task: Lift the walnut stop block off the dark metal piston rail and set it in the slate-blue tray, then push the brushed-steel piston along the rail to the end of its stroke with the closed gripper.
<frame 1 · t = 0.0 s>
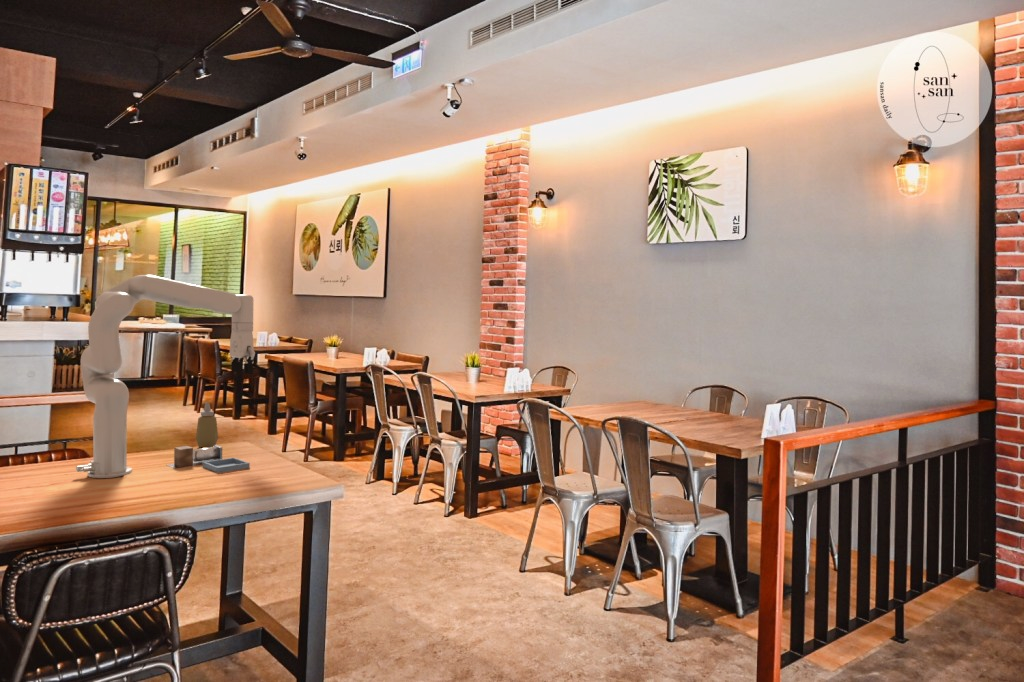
hand: (242, 372, 260), 31 cm above the table, tool pointing down, fingers open, 9 cm apart
stop block: (183, 464, 241), resting on piston rail
piston rail: (197, 464, 245), on the table
tray: (226, 468, 239), on the table
piston: (206, 453, 247), point 3 cm above the table, slide at 0.0 cm
squeeze bottle: (207, 447, 274), on the table
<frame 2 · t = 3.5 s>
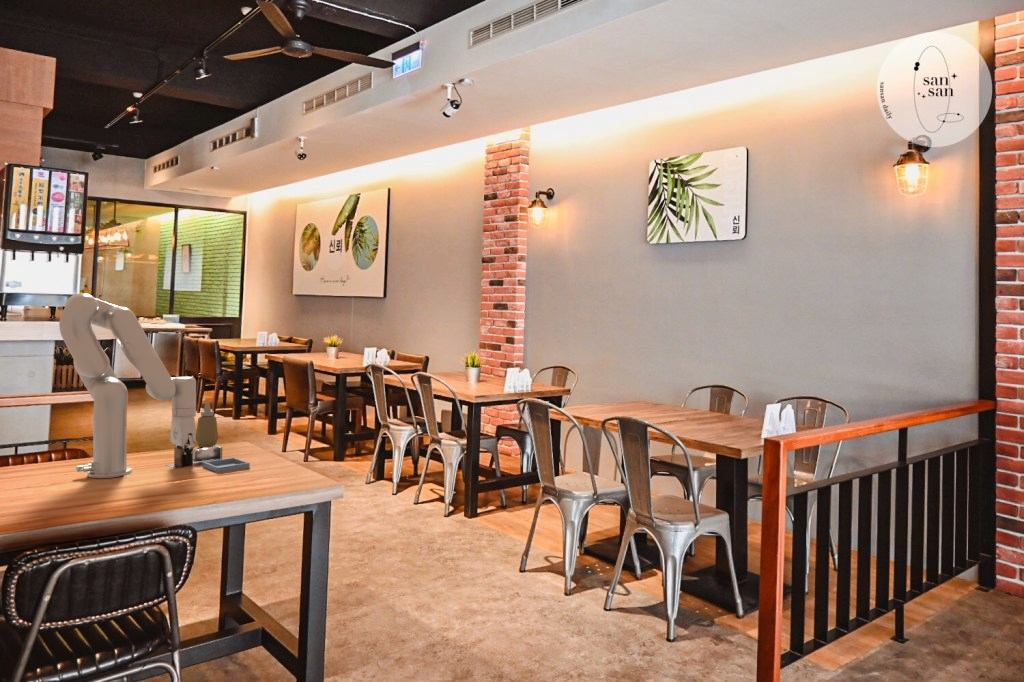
hand: (183, 463, 241), 1 cm above the table, tool pointing down, fingers closed on stop block, 4 cm apart
stop block: (183, 464, 241), point 1 cm above the table, touching gripper, piston rail
everything else where it was.
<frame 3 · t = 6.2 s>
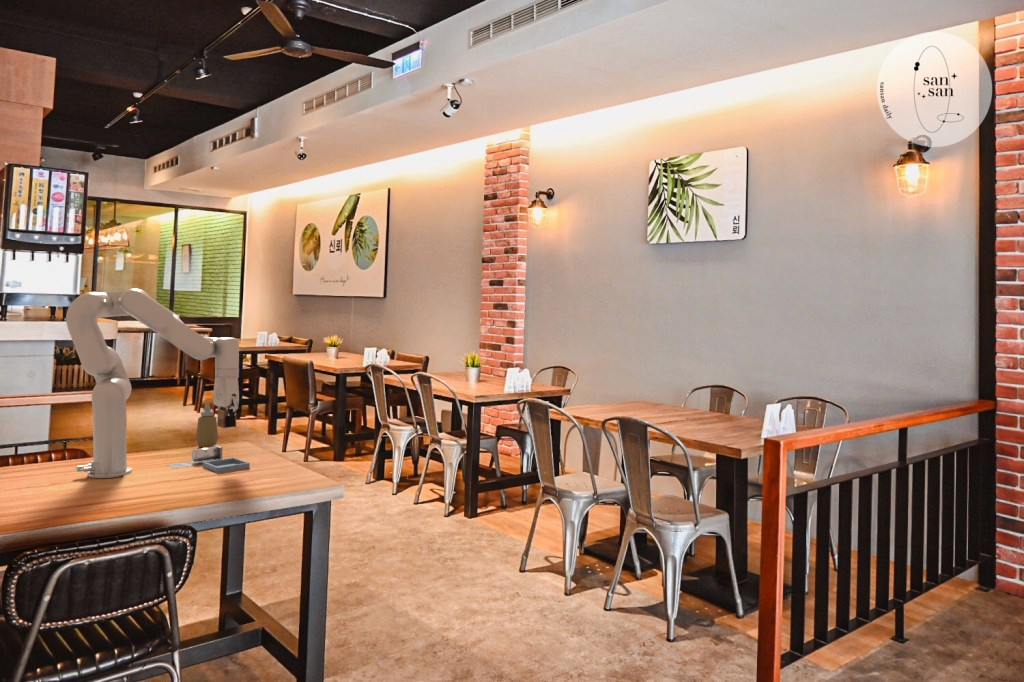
hand: (226, 425, 239), 15 cm above the table, tool pointing down, fingers closed on stop block, 4 cm apart
stop block: (226, 426, 239), point 15 cm above the table, touching gripper
everything else where it was.
when the fingers open (3 cm above the table, at t = 8.7 s): stop block drops 2 cm, resting on tray.
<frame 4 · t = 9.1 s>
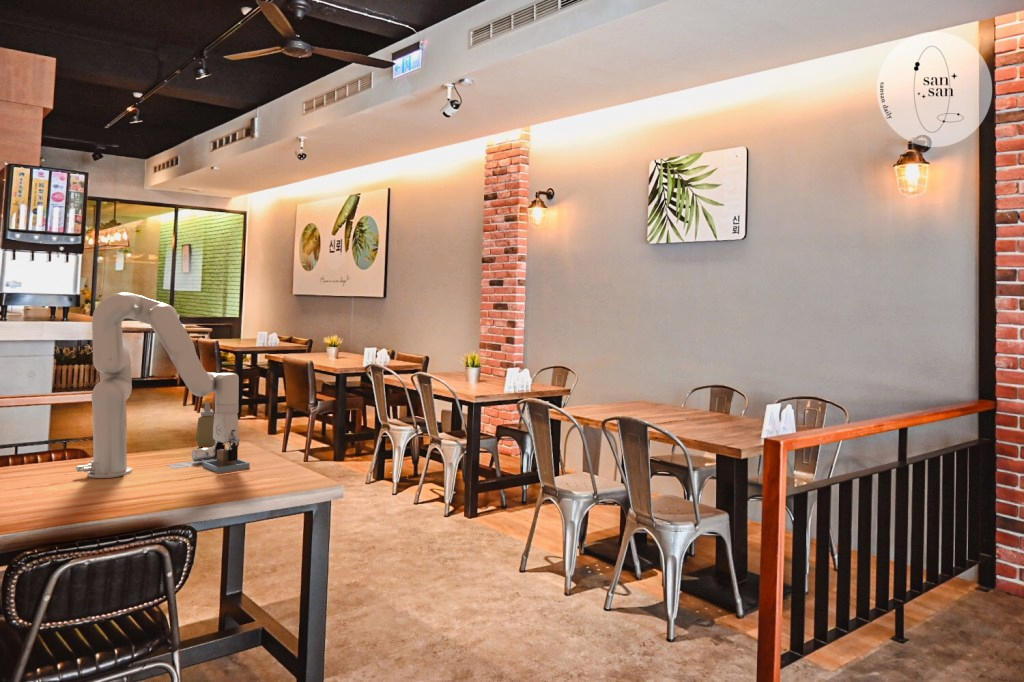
hand: (226, 458, 239), 4 cm above the table, tool pointing down, fingers open, 8 cm apart
stop block: (226, 467, 239), point 1 cm above the table, touching tray
everything else where it was.
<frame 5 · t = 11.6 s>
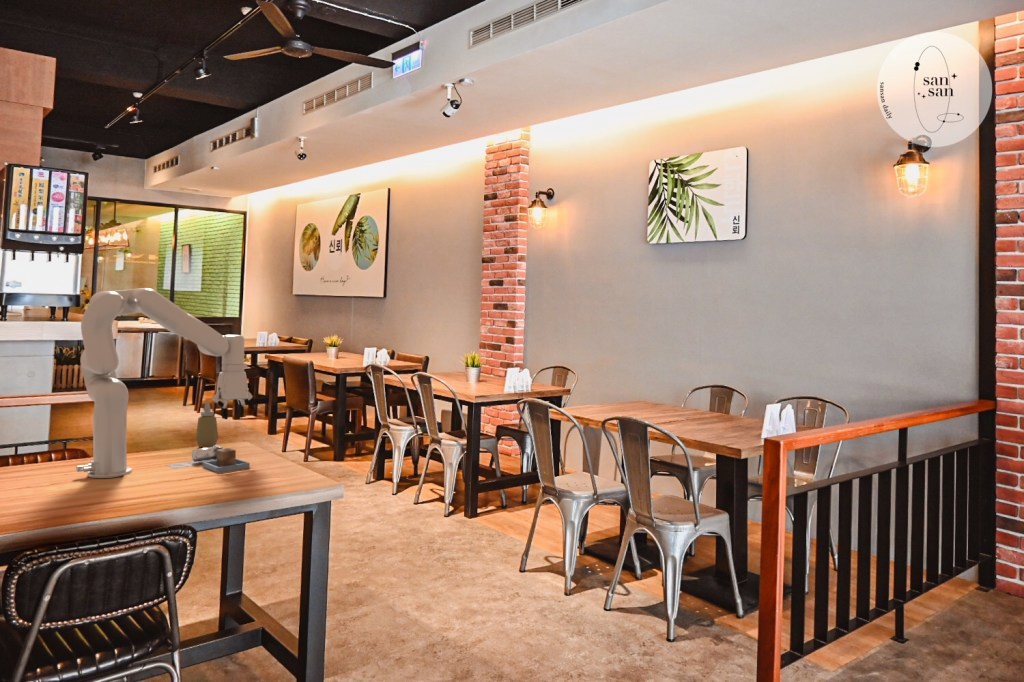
hand: (232, 417, 254), 15 cm above the table, tool pointing down, fingers open, 5 cm apart
nothing on the table moved.
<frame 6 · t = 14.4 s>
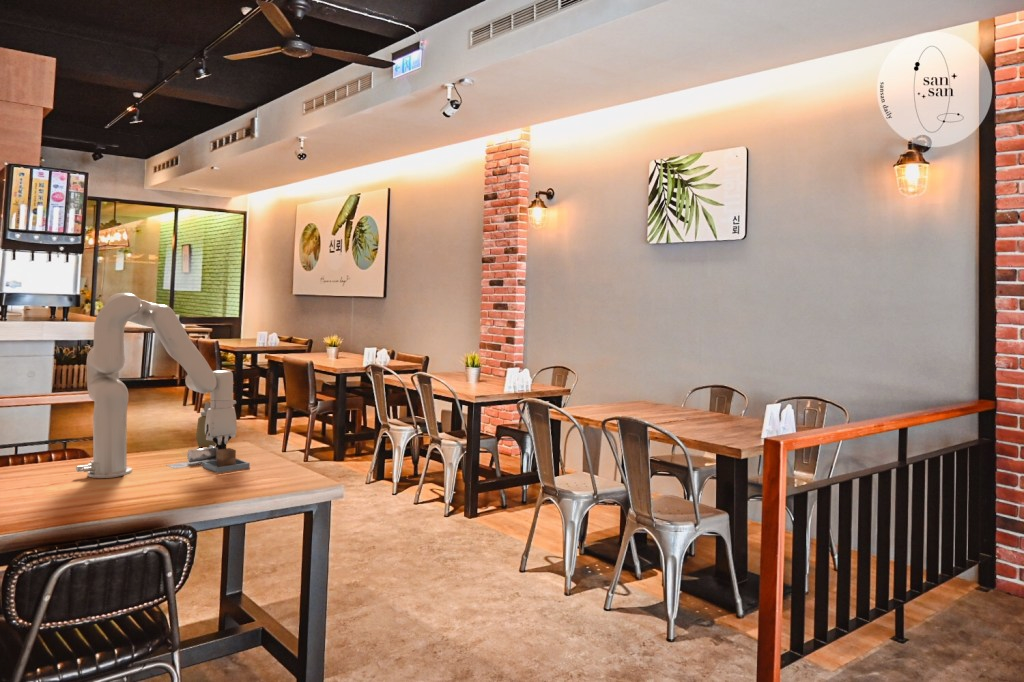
hand: (221, 454, 251), 2 cm above the table, tool pointing down, fingers closed
piston: (202, 454, 246), point 3 cm above the table, slide at 1.5 cm, touching gripper
everything else where it was.
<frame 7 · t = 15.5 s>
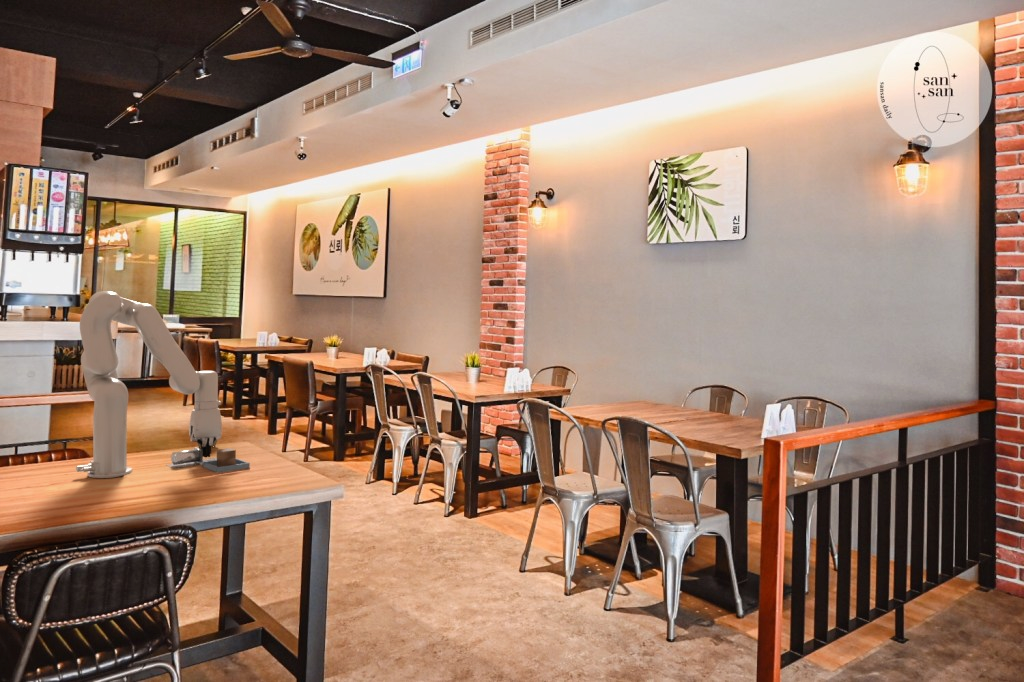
hand: (205, 456, 247), 2 cm above the table, tool pointing down, fingers closed
piston: (186, 456, 242), point 3 cm above the table, slide at 7.1 cm, touching gripper
everything else where it was.
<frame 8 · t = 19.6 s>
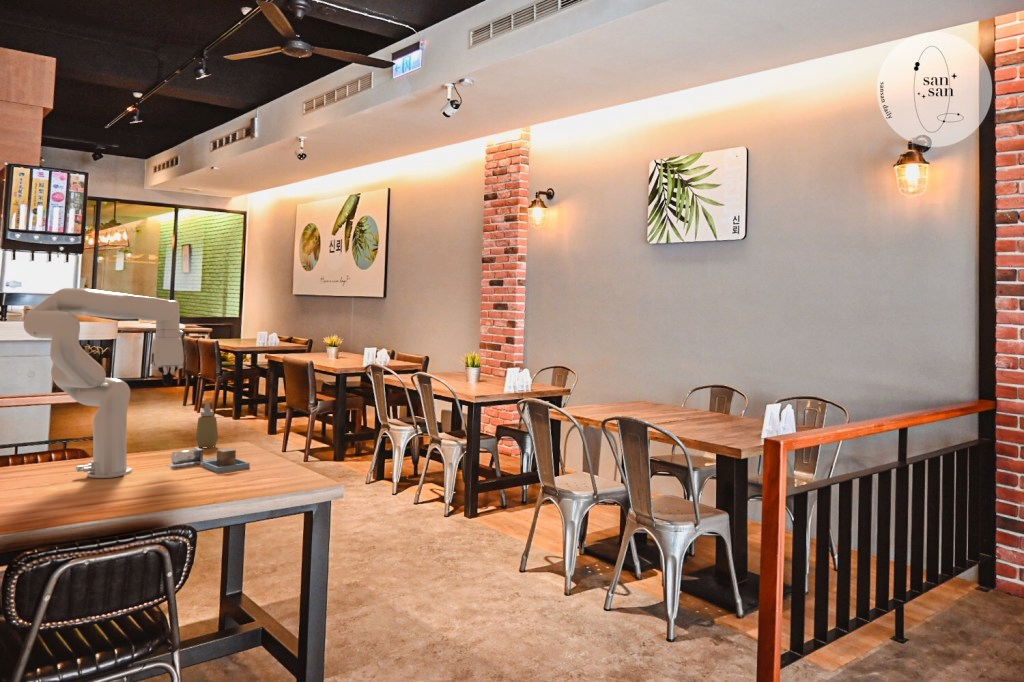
hand: (167, 385, 249), 27 cm above the table, tool pointing down, fingers closed
piston: (186, 456, 242), point 3 cm above the table, slide at 7.0 cm
everything else where it was.
at the end: stop block inside the target area on the tray (0.0 cm from its centre), point 0.6 cm above the tray's base; piston slide at 7.0 cm; the gripper is holding nothing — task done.
